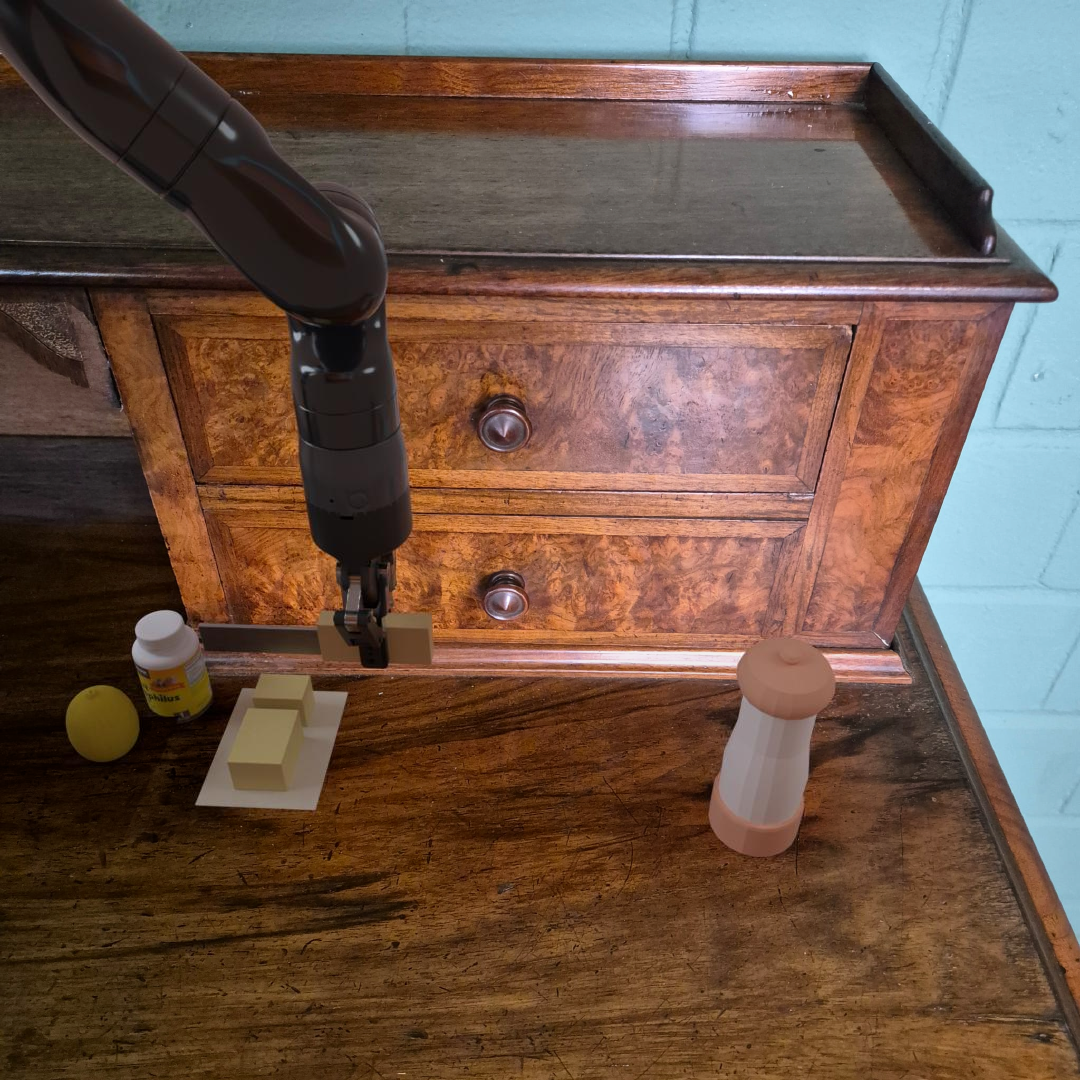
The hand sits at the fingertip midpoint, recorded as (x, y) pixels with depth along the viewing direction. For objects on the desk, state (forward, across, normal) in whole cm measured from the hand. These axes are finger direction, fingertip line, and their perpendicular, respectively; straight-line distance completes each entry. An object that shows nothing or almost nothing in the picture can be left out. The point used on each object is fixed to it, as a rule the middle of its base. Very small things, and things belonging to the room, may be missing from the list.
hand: (378, 655), depth 78 cm
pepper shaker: (+11, +7, +31) cm, 34 cm away
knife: (0, 0, -5) cm, 5 cm away
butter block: (+10, +4, -10) cm, 14 cm away
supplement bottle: (+11, -3, -20) cm, 23 cm away
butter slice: (+10, -2, -10) cm, 14 cm away
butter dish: (+11, +2, -10) cm, 14 cm away
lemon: (+11, +3, -24) cm, 26 cm away
